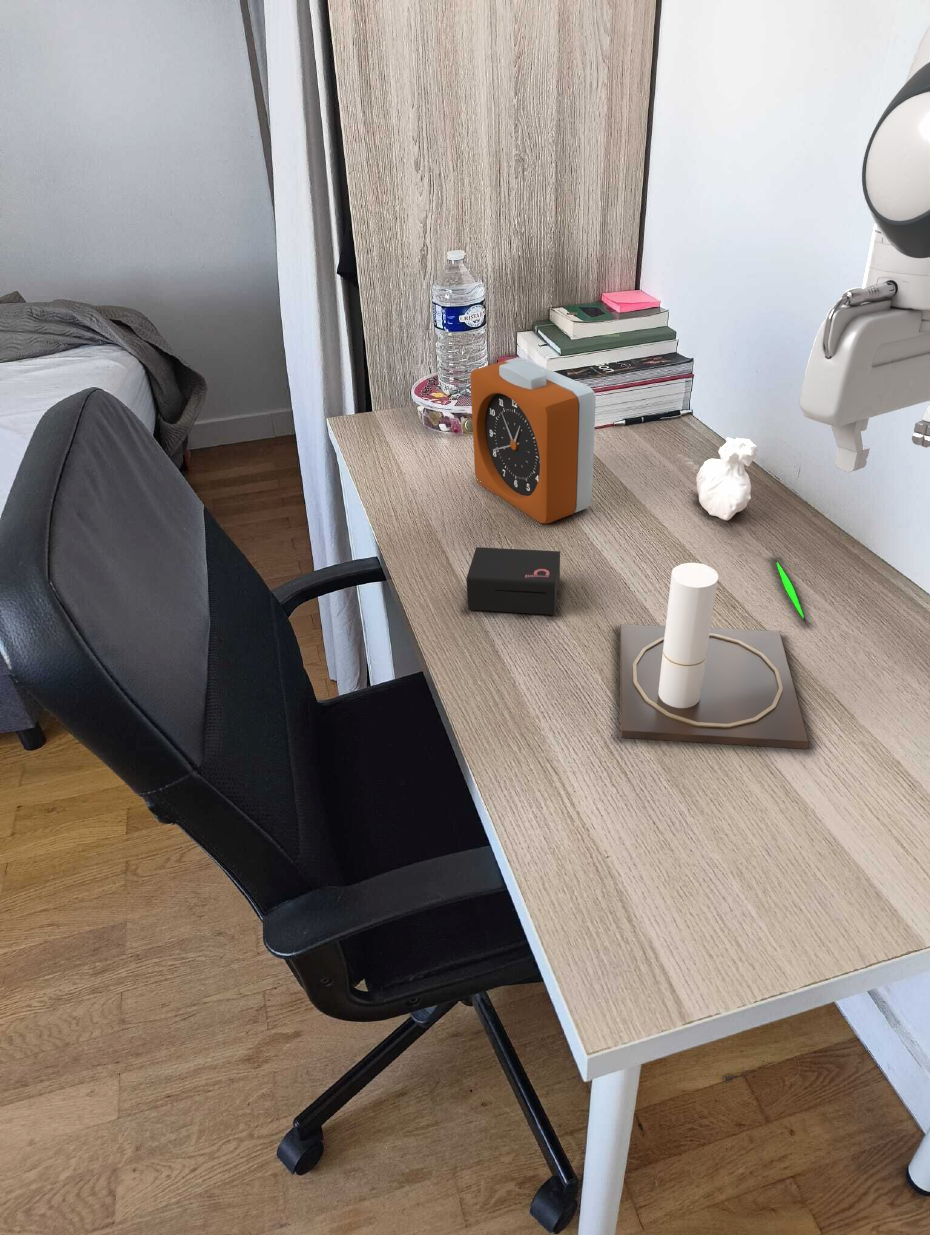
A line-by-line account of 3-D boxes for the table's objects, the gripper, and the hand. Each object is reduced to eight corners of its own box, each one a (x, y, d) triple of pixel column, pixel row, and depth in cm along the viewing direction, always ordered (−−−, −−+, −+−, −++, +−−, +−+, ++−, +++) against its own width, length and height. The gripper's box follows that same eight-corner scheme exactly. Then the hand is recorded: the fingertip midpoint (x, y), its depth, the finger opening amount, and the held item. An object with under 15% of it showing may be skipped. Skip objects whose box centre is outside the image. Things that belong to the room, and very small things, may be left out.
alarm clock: (473, 482, 132) (466, 352, 120) (518, 466, 136) (516, 339, 123) (545, 529, 119) (546, 389, 107) (593, 510, 123) (599, 372, 111)
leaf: (778, 561, 110) (779, 556, 110) (809, 625, 99) (810, 620, 98) (771, 561, 110) (772, 556, 110) (801, 625, 99) (802, 620, 98)
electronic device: (478, 578, 110) (476, 545, 107) (559, 583, 108) (560, 550, 105) (468, 611, 104) (466, 578, 101) (554, 617, 102) (554, 583, 99)
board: (778, 637, 97) (780, 629, 96) (807, 749, 82) (809, 740, 82) (619, 630, 99) (620, 622, 99) (620, 737, 85) (621, 729, 84)
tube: (704, 707, 86) (722, 586, 78) (662, 708, 87) (676, 588, 78) (695, 680, 90) (712, 561, 81) (655, 681, 90) (667, 563, 81)
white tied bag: (740, 540, 118) (797, 476, 114) (703, 516, 115) (761, 450, 110) (704, 500, 128) (756, 440, 123) (670, 478, 124) (721, 415, 120)
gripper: (873, 299, 54) (833, 498, 61) (1055, 263, 63) (1001, 441, 70) (795, 286, 59) (766, 472, 66) (974, 254, 67) (931, 422, 75)
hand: (888, 456), depth 68 cm, fingers open, 8 cm apart
